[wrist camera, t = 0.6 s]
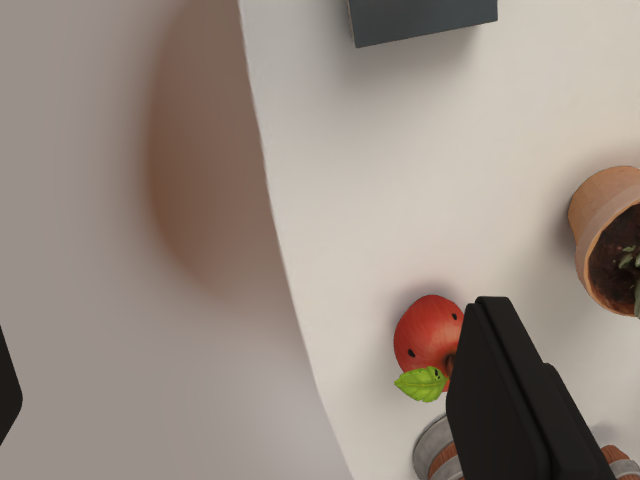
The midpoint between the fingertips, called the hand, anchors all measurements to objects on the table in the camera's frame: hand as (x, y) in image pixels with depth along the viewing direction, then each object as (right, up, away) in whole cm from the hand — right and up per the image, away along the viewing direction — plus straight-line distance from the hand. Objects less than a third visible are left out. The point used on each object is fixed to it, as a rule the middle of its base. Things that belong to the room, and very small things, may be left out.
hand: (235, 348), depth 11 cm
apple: (+10, -3, +34) cm, 35 cm away
